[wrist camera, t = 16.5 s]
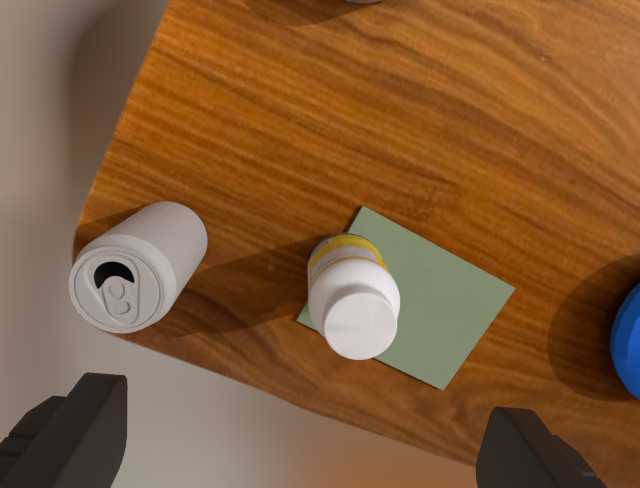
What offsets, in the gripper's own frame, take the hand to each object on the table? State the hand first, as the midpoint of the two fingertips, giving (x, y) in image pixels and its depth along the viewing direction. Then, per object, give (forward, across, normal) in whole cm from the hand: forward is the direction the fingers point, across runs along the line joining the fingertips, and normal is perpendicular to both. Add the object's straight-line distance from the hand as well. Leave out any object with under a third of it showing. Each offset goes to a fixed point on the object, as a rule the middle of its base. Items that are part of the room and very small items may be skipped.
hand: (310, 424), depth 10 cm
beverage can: (+29, +10, +6) cm, 31 cm away
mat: (+29, -11, +9) cm, 32 cm away
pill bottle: (+29, -5, +6) cm, 30 cm away
